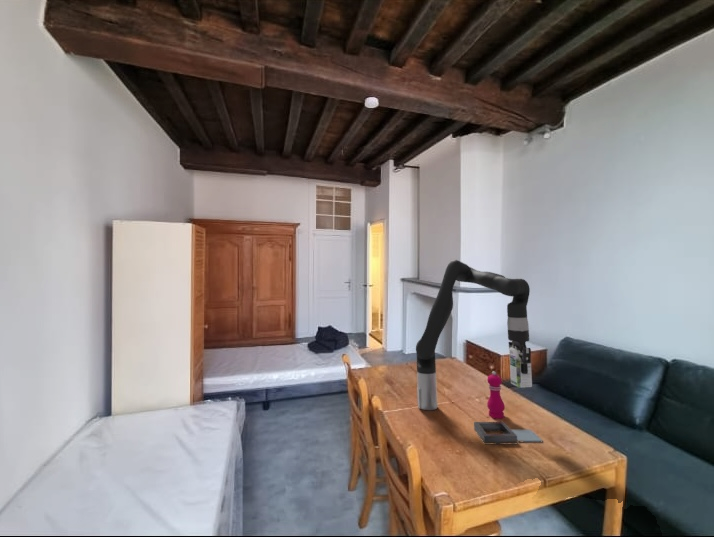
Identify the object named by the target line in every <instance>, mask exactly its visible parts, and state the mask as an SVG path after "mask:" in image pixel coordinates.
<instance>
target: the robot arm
mask: <svg viewBox="0 0 714 537" xmlns="http://www.w3.org/2000/svg"><path fill="white" fill-rule="evenodd" d="M456 281H457V282H461V283H470V284H476V285H479V286H482V287H484V288H486V289H490V290H494V291H497V292H498V293H499V294H502V295H504V296H507V297H512V301H510V302H509V303H507V305H506V307H507V308H506V313H507V315H506V316H507V323H506V324H507V325H506V326H507V339H508V349H509V348H511V347H512V348H515V349H516V350H520V352H521V353H523V355H520V354H519V358H520V362H521V373H522V374H527V373H528V367H527V364H528V363H531V364H532V355H531V354H532V353H531V352H532V348H531V347H527V345H526V343H527V342H530V330H529V329H530V328H529V321H528V320H529V319H528V310H527V306H528V303H529V298H530V292H531V290H530V284H529V283H528V282H527V280H525V279H523V278H508V277H506V276H504V275H502V274H500V273H496V272H491V271H481V270H477V269H475V268H473V267H471V266H469V265H468V264H467V263H464V262H463V261H460V260H458V259H453V260H451V261H450V262H449V263H448V264H447V266H446V268H445V272H444V275H443V277H442V281H441V285H440V287H439V289H438V293H437V295H436V297H435V300H434V302H433V305H432V307H431V309H430V312H429V316H428V318H427V323H426V327H425V329H424V331H423V334H422V336H421V338H420V339H419V340H418V341H417V343H416V344H415V352H416V377H417V378H416V380H417V385H416V395H417V406H418V408H419V410H424V411H434V410H437V409H438V393H437V369H436V368H437V363H436V347H437V344H438V341H439V338H440V336H441V334H442V332H443V330H444V329H445V326H446V325H447V323H448V320H449V318H450V316H451V314H452V310H453V309H454V298H453V290H454V286H455V283H456ZM527 357H528V359H527ZM522 358H523V360H522Z"/></svg>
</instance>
